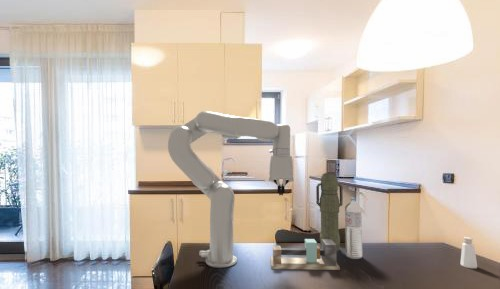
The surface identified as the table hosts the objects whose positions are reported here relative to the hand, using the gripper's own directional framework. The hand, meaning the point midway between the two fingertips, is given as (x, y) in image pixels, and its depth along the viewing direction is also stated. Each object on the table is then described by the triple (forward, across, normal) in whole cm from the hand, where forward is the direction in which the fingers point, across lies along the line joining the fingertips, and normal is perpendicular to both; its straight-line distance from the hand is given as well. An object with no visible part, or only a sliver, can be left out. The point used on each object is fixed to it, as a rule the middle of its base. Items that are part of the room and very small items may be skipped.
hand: (280, 194), depth 118 cm
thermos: (+26, +23, +11) cm, 36 cm away
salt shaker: (+25, +74, -4) cm, 78 cm away
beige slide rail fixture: (+26, +9, -8) cm, 29 cm away
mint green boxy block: (+24, +12, -8) cm, 28 cm away
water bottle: (+26, +32, +2) cm, 41 cm away
